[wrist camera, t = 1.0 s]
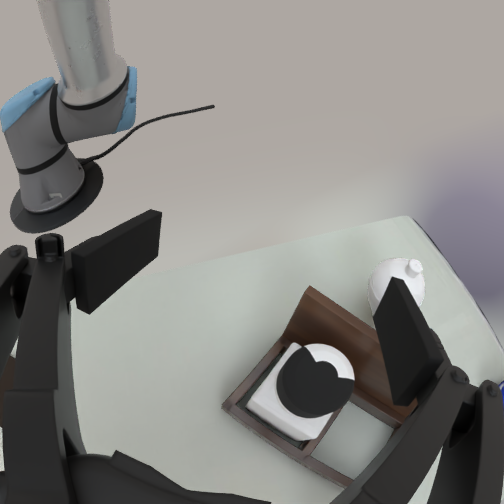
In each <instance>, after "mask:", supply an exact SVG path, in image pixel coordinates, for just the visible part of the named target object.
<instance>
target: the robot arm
mask: <svg viewBox="0 0 504 504" xmlns="http://www.w3.org/2000/svg"><path fill="white" fill-rule="evenodd" d="M37 3H38V7H39V11H40V14H41V18H42V21H43V24H44V28H45V31H46V34H47V37H48V40H49V43H50V46H51V49H52V52H53V54H54V57H55V60H56V63H57V66H58V68H59V71H60V74H61V78H60V80H59V83H58V84H55V80H54V79H53V77H49V78H44V79H42V80H40V81H38V82H35V83H34V84H32V85H30V86H28V87H26V88H25V89H24V90H22V91H20V92H19V93H17V94H16V95H14V96H13V97H12V98H11V99H9V101H7V102H6V103H5V104H4V106H3V107H2V109H1V111H0V119H1V124H2V131H3V132H4V135H5V138H6V141H7V144H8V146H9V149H10V152H11V155H12V158H13V160H14V163H15V165H16V168H17V170H18V173H19V181H20V191H21V200H22V203H23V205H24V207H25V209H26V211H27V212H28V213H30V214H33V215H44V214H48V213H51V212H54V211H56V210H58V209H60V208H62V207H64V206H65V205H67V204H68V203H69V202H71V201H72V200H73V199H74V198H75V197H76V196H77V195H78V194H79V193H80V192H81V190H82V188H83V187H84V184H85V180H86V177H85V173H84V170H83V168H82V166H81V165H83V164H85V163H88V162H91V161H94V160H98V159H100V158H102V157H104V156H106V155H107V154H109V153H110V152H111V151H113V150H114V149H115V148H116V147H117V146H118V145H120V144H121V143H122V142H123V141H125V140H126V139H127V138H128V137H129V136H130V135H131V134H132V133H133V132H135V131H136V130H138V129H139V128H141V127H143V126H145V125H147V124H150V123H152V122H155V121H158V120H161V119H165V118H169V117H174V116H179V115H183V114H189V113H194V112H198V111H203V110H207V109H211V108H214V107H215V106H214V105H210V106H206V107H201V108H197V109H192V110H187V111H182V112H177V113H171V114H167V115H163V116H160V117H156V118H153V119H150V120H148V121H146V122H143V123H141V124H139V125H138V126H136V127H134V128H133V129H132V130H130V131H129V132H128V133H127V134H126V135H125V136H124V137H123V138H121V139H120V140H119V141H118V142H116V143H115V144H114V145H113V146H112V147H110V148H109V149H108V150H106V151H105V152H103V153H101V154H99V155H96V156H93V157H89V158H86V159H84V160H81V161H78V160H77V159H76V158H75V156H74V155H73V153H72V152H71V151H70V149H69V147H68V144H67V143H70V142H74V141H78V140H83V139H88V138H92V137H97V136H102V135H107V134H115V133H117V132H120V131H124V130H128V129H130V128H131V127H132V126H133V125H134V122H135V115H136V91H137V69H136V68H135V67H130V66H127V65H126V62H125V60H124V59H123V58H122V57H121V56H119V55H117V54H115V49H114V42H113V34H112V26H111V16H110V6H109V0H37ZM161 218H162V212H159V211H155V210H152V209H150V210H148V211H146V212H144V213H142V214H140V215H138V216H136V217H134V218H132V219H130V220H128V221H126V222H124V223H122V224H120V225H119V226H117V227H115V228H113V229H111V230H109V231H107V232H105V233H103V234H102V235H99V236H95V237H92V238H90V239H88V240H86V241H84V242H82V243H80V244H79V245H77V246H75V247H73V248H71V249H70V250H68V251H66V252H64V243H63V236H61V235H59V234H55V233H49V234H44V235H41V236H39V237H37V238H36V240H35V245H36V254H37V259H36V258H30V257H28V252H27V248H26V247H25V246H21V245H14V246H11V247H9V248H7V249H6V250H5V251H3V252H2V253H1V255H0V380H1V377H2V374H3V372H4V369H5V366H6V364H7V361H8V359H9V356H10V354H11V352H12V349H13V347H14V345H15V342H16V340H17V338H18V344H17V351H16V359H15V368H14V380H13V389H12V390H9V389H7V390H6V391H5V392H4V397H3V420H2V433H3V457H4V469H5V471H0V504H271V502H268V501H262V500H257V499H252V498H248V497H243V496H239V495H235V494H226V493H210V492H199V491H191V490H187V489H185V488H183V487H181V486H180V485H178V484H176V483H175V482H173V481H172V480H170V479H169V478H167V477H166V476H164V475H163V474H161V473H160V472H158V471H157V470H155V469H154V468H153V467H151V466H149V465H147V464H144V463H142V462H140V461H138V460H136V459H134V458H131V457H129V456H127V455H125V454H123V453H121V452H119V451H117V450H116V451H115V452H114V454H113V456H112V457H110V456H106V455H100V454H87V453H86V450H85V447H84V444H83V441H82V438H81V433H80V428H79V421H78V415H77V408H76V400H75V392H74V382H73V370H72V353H71V305H70V301H71V300H72V299H74V298H76V305H77V309H79V310H81V311H83V312H85V313H87V314H89V315H90V314H91V313H92V312H93V311H94V310H95V309H96V308H98V307H99V306H100V305H101V304H102V303H103V302H104V301H106V300H107V299H108V298H109V297H110V296H111V295H112V294H114V293H115V292H116V291H117V290H118V289H119V288H120V287H122V286H123V285H124V284H125V283H126V282H127V281H129V280H130V279H131V278H132V277H133V276H135V275H136V274H137V273H138V272H139V271H140V270H142V269H143V268H144V267H145V266H146V265H148V264H149V263H150V262H151V261H153V260H154V259H155V258H156V257H157V256H158V250H159V238H160V227H161ZM373 320H374V324H375V327H376V331H377V335H378V339H379V343H380V347H381V351H382V355H383V359H384V363H385V368H386V372H387V376H388V381H389V386H390V391H391V396H392V401H393V405H396V406H406V407H408V406H409V405H410V404H411V403H412V401H413V400H414V399H415V398H416V399H417V403H418V405H417V406H416V407H415V408H414V409H413V410H412V411H411V413H410V414H409V415H408V416H407V417H406V418H405V419H404V423H403V424H402V425H401V427H400V428H399V429H398V431H397V432H396V433H395V435H394V436H393V437H392V438H391V440H390V441H389V442H388V443H387V444H386V446H385V447H384V448H383V449H382V450H381V452H380V453H379V454H378V455H377V456H376V457H375V458H374V460H373V461H372V462H371V463H370V464H369V465H368V466H367V467H366V468H365V469H364V471H363V472H362V473H361V474H360V475H359V476H358V477H357V478H356V479H355V480H354V481H353V482H352V483H351V484H350V485H349V486H348V487H347V488H346V489H345V490H344V491H343V492H342V493H341V494H339V495H338V496H337V497H336V498H335V499H334V500H333V501H332V502H331V503H330V504H408V502H409V501H410V499H411V498H412V496H413V495H414V493H415V492H416V490H417V489H418V487H419V486H420V484H421V483H422V481H423V479H424V478H425V476H426V475H427V473H428V471H429V470H430V468H431V466H432V464H433V463H434V461H435V459H436V457H437V455H438V454H439V452H440V450H441V448H442V446H443V448H442V452H441V457H440V461H439V465H438V469H437V472H436V476H435V480H434V483H433V486H432V490H431V493H430V496H429V499H428V502H427V504H500V502H501V495H502V487H503V477H504V406H503V395H502V391H501V390H500V388H499V386H498V385H497V384H496V383H494V382H492V381H490V380H485V381H484V382H483V383H482V384H481V385H480V386H479V388H478V387H476V386H473V385H471V384H469V378H468V376H467V374H466V373H465V372H464V371H463V370H462V369H460V368H459V367H457V366H453V365H452V364H451V362H450V360H449V358H448V356H447V353H446V351H445V350H444V347H443V345H442V344H441V341H440V339H439V337H438V335H437V334H436V333H435V332H434V331H433V330H432V329H430V328H429V326H428V324H427V322H426V320H425V318H424V316H423V314H422V313H421V311H420V309H419V307H418V305H417V303H416V301H415V299H414V298H413V296H412V294H411V292H410V290H409V289H408V287H407V285H406V283H405V282H404V280H403V279H399V278H396V277H393V276H392V277H391V279H390V282H389V284H388V286H387V288H386V291H385V293H384V295H383V297H382V299H381V301H380V303H379V306H378V308H377V310H376V312H375V314H374V316H373ZM18 336H19V337H18Z"/></svg>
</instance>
